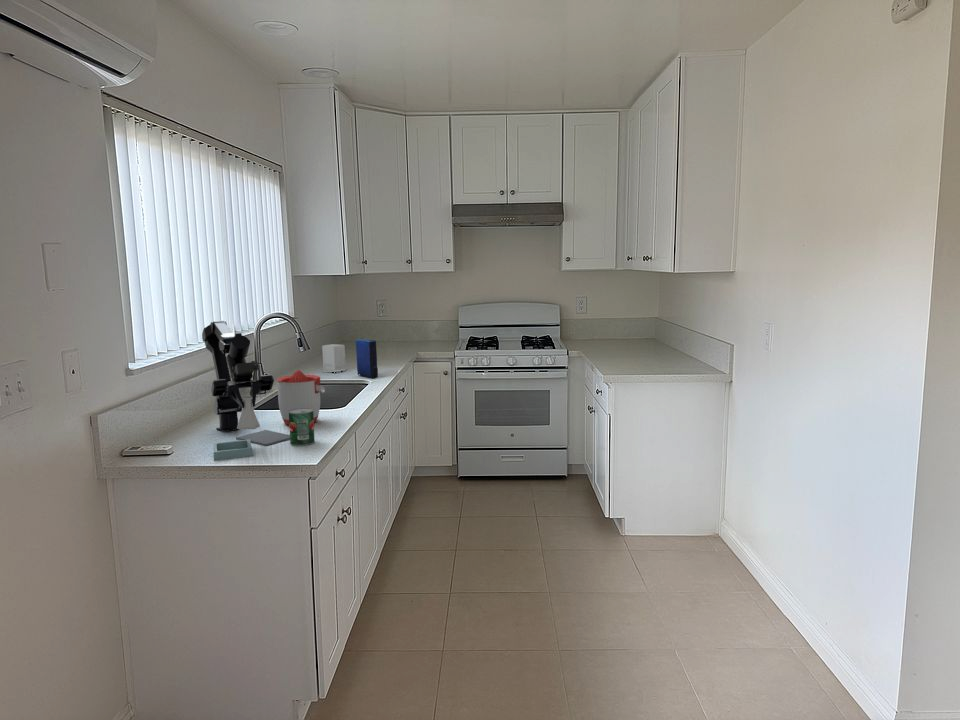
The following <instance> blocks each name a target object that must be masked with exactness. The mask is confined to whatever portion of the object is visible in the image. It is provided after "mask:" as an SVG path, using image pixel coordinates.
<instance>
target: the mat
mask: <svg viewBox="0 0 960 720" xmlns="http://www.w3.org/2000/svg"><path fill="white" fill-rule="evenodd" d="M249 439H250V442H251V444H256V445H261V446H264V447H267V446H272V445H275V444H278V443H282V442H286V441H290V434H287V433H283V432H278V431H272V430H268V429H262V430H259V431H255V432H252V433H248V434H245V435H244V434H243V435H241V436H236V437H235V440H237V441H239V440H249Z"/></svg>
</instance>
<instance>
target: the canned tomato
mask: <svg viewBox="0 0 960 720" xmlns="http://www.w3.org/2000/svg"><path fill="white" fill-rule="evenodd" d="M288 427H289V435H290V440H289V444H290V445H291V446H293V447H306V446H310V445H313V444H315V442H316V441H315V422H314V417H313V409H311V408H297V409H292V410H289V425H288Z"/></svg>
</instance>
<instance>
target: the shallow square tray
mask: <svg viewBox="0 0 960 720" xmlns="http://www.w3.org/2000/svg"><path fill="white" fill-rule="evenodd" d="M212 445H213V446H212V447H213V460H214V461H220V460H228V459H237V458H244V457H245V458H246V457H253V456H254V455H253V446H252V443H251V442H250V439H249V440H231V441H222V442H221V441H220V442H213V444H212Z"/></svg>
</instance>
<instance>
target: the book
mask: <svg viewBox="0 0 960 720" xmlns="http://www.w3.org/2000/svg"><path fill="white" fill-rule="evenodd" d="M355 351H356V367H357V370H356V371H357V375H358V376H360V377H365V378H370V379H375V378H378V377H379V371H378V370H379V369H378V354H377V351H378V350H377V341H376V340H374V339H373V340H372V339H364V338H360V339H355ZM359 374H360V375H359ZM364 375H365V376H364Z"/></svg>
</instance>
